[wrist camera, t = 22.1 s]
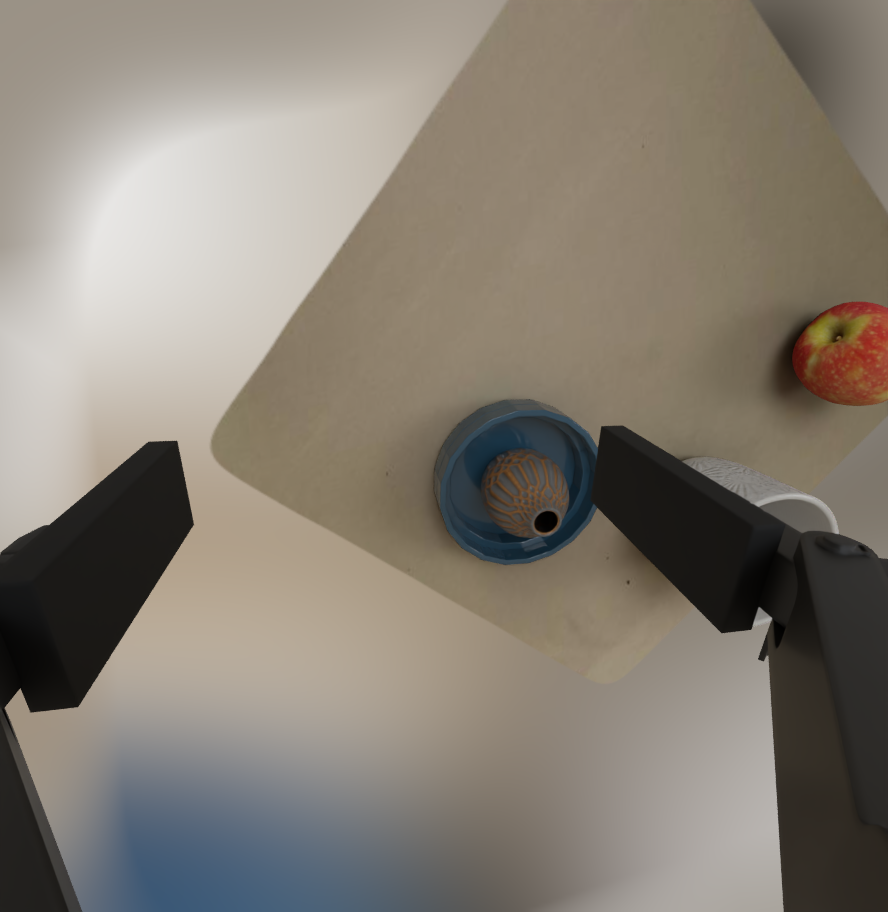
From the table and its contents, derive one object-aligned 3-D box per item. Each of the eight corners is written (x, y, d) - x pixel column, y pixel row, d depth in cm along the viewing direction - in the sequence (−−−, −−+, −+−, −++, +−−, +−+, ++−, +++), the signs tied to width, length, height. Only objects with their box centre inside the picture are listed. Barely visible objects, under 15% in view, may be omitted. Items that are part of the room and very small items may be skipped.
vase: (503, 523, 44) (536, 579, 36) (457, 473, 41) (481, 523, 33) (562, 475, 43) (608, 522, 35) (518, 422, 41) (558, 459, 32)
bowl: (434, 398, 39) (442, 412, 36) (593, 396, 41) (615, 408, 38) (432, 545, 44) (438, 570, 41) (573, 535, 46) (591, 558, 43)
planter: (603, 491, 45) (672, 554, 35) (716, 419, 44) (820, 462, 34) (649, 576, 50) (722, 653, 40) (753, 513, 49) (853, 575, 39)
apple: (818, 284, 41) (918, 287, 34) (870, 336, 44) (972, 350, 37) (755, 363, 43) (837, 382, 36) (809, 408, 46) (895, 435, 38)
